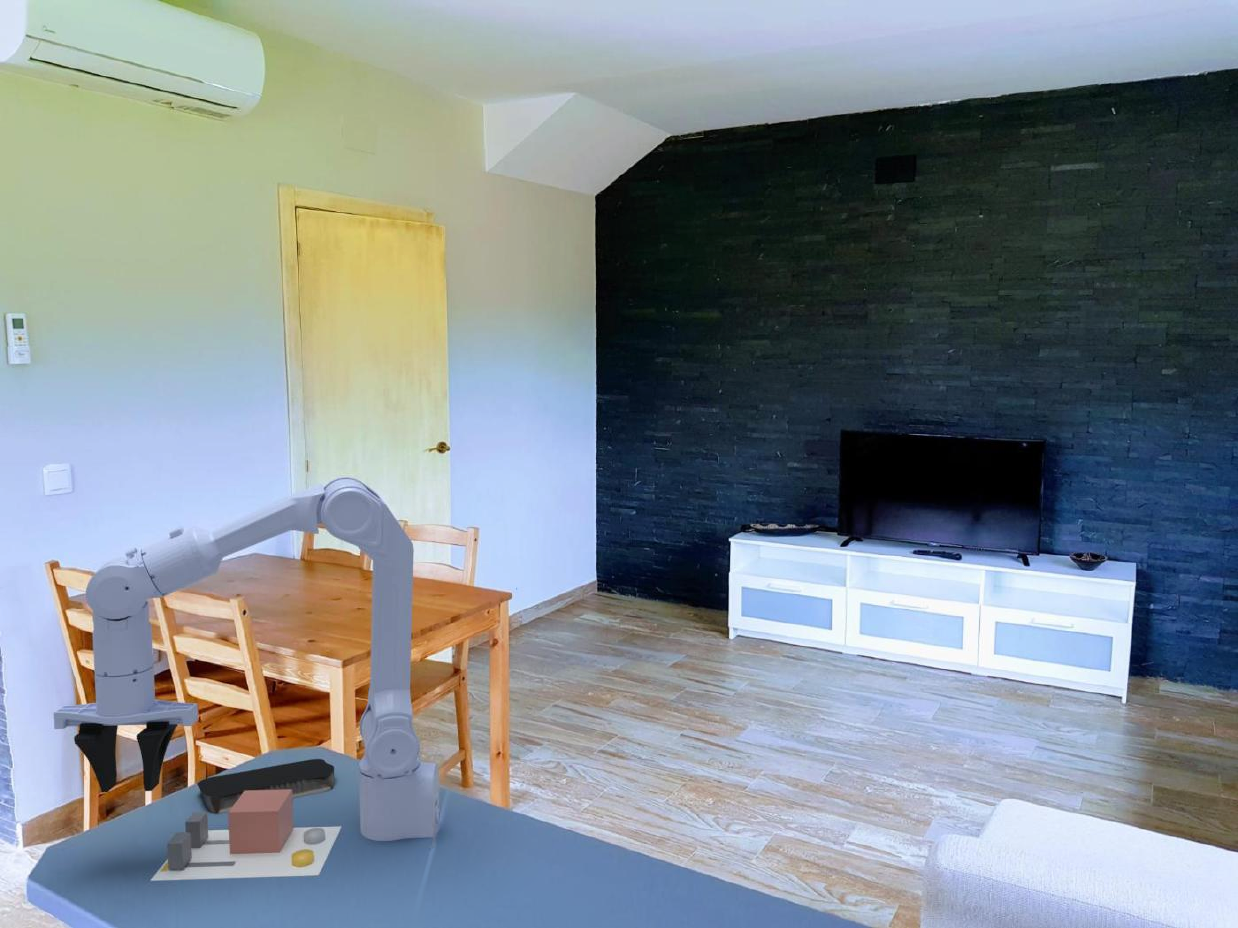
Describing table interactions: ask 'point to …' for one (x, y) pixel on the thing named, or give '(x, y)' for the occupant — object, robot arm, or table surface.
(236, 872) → the breaker panel
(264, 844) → the reddish pink block
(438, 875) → the table surface
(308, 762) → the black brush
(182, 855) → the handle
